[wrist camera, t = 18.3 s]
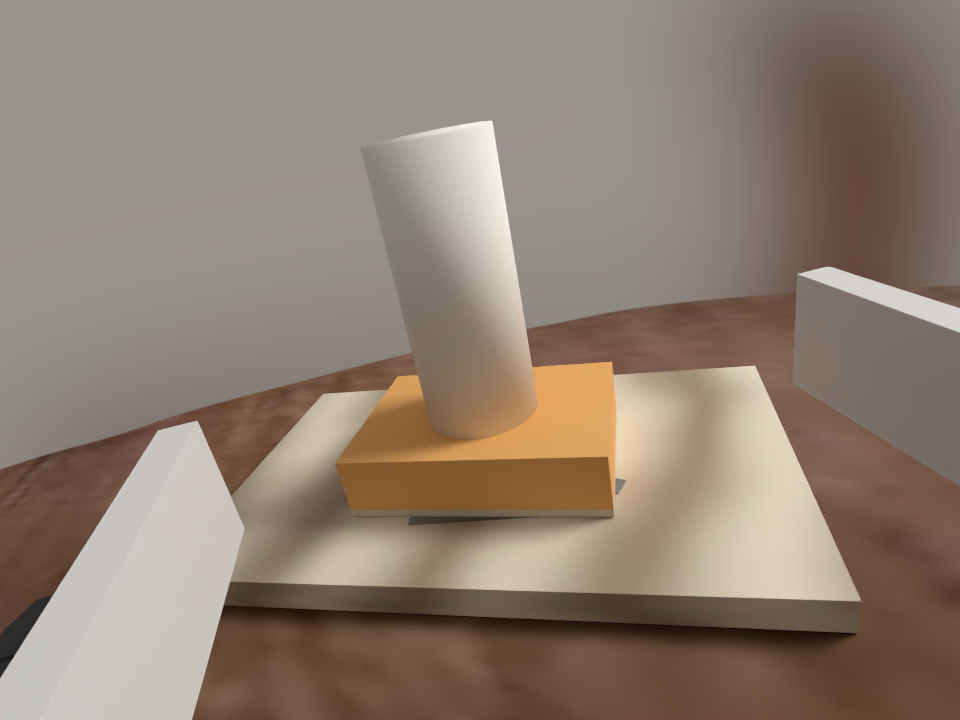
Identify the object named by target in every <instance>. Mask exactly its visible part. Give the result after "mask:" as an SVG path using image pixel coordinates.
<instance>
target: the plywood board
mask: <svg viewBox="0 0 960 720" xmlns="http://www.w3.org/2000/svg"><path fill="white" fill-rule="evenodd" d="M613 378H614V388H615V398H616V408H617V428H616V475H615V517H460V516H352V513H351V510H350V507H349V504H348V501H347V498H346V495H345V492H344V489H343V486H342V483H341V481H340V478H339V475H338V472H337V469H336V466H335V462H336V461H337V460H338V458H339V457H340V455H341V454H342V453H343V451H344V450H345V449H346V447H347V446H348V444H349V443H350V442H351V440H352V439H353V438H354V436H355V435H356V433H357V432H358V431H359V429H360V428H361V427H362V425H363V424H364V422H365V421H366V420H367V418H368V417H369V416H370V414H371V413H372V411H373V410H374V409H375V407H376V406H377V405H378V403H379V402H380V400H381V399H382V398H383V396H384V395H385V394H386V392H387V391H388V390H378V391H363V392H347V393H332V394H323V395H322V396H321V397H320V398H319V399H318V400H317V402H316V403H315V404H314V405H313V406H312V407H311V408H310V409H309V410H308V412H307V413H306V414H305V415H304V416H303V417H302V418H301V419H300V420H299V422H298V423H297V424H296V425H295V426H294V427H293V428H292V429H291V430H290V432H289V433H288V434H287V435H286V436H285V437H284V438H283V439H282V440H281V442H280V443H279V444H278V445H277V446H276V447H275V448H274V449H273V450H272V452H271V453H270V454H269V455H268V456H267V457H266V458H265V459H264V460H263V461H262V463H261V464H260V465H259V466H258V467H257V468H256V469H255V470H254V471H253V473H252V474H251V475H250V476H249V477H248V478H247V479H246V480H245V481H244V483H243V484H242V485H241V486H240V487H239V488H238V489H237V490H236V491H235V493H234V494H233V495H232V496H231V498H232V501H233V503H234V505H235V507H236V510H237V512H238V514H239V517H240V519H241V521H242V523H243V526H244V528H245V529H244V533H243V536H242V540H241V544H240V547H239V551H238V554H237V558H236V562H235V565H234V569H233V573H232V576H231V580H230V583H229V587H228V591H227V594H226V598H225V601H224V605H227V606H250V607H273V608H295V609H318V610H341V611H364V612H386V613H409V614H432V615H455V616H477V617H500V618H523V619H546V620H568V621H591V622H614V623H636V624H659V625H682V626H705V627H727V628H750V629H773V630H796V631H818V632H841V633H858V627H859V618H860V609H861V599H860V597H859V595H858V593H857V590H856V588H855V586H854V584H853V582H852V579H851V577H850V575H849V573H848V571H847V568H846V566H845V564H844V562H843V560H842V557H841V555H840V553H839V551H838V548H837V546H836V544H835V542H834V540H833V537H832V535H831V533H830V531H829V529H828V526H827V524H826V522H825V520H824V518H823V515H822V513H821V511H820V509H819V506H818V504H817V502H816V500H815V498H814V495H813V493H812V491H811V489H810V487H809V484H808V482H807V480H806V478H805V476H804V473H803V471H802V469H801V467H800V464H799V462H798V460H797V458H796V456H795V453H794V451H793V449H792V447H791V445H790V442H789V440H788V438H787V436H786V434H785V431H784V429H783V427H782V425H781V422H780V420H779V418H778V416H777V414H776V411H775V409H774V407H773V405H772V403H771V400H770V398H769V396H768V394H767V392H766V389H765V387H764V385H763V383H762V380H761V378H760V376H759V374H758V372H757V369H756V367H755V366H745V367H730V368H715V369H699V370H684V371H669V372H653V373H638V374H623V375H613Z"/></svg>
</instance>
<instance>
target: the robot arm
mask: <svg viewBox="0 0 960 720" xmlns="http://www.w3.org/2000/svg"><path fill="white" fill-rule="evenodd" d="M792 383H793V384H794V385H796V386H798V387H799V388H801V389H803V390H804V391H806V392H807V393H809V394H811V395H812V396H814V397H815V398H817V399H819V400H820V401H822V402H824V403H825V404H827V405H828V406H830V407H832V408H833V409H835V410H837V411H838V412H840V413H841V414H843V415H845V416H846V417H848V418H850V419H851V420H853V421H854V422H856V423H858V424H859V425H861V426H863V427H864V428H866V429H867V430H869V431H871V432H872V433H874V434H876V435H877V436H879V437H880V438H882V439H884V440H885V441H887V442H889V443H890V444H892V445H893V446H895V447H897V448H898V449H900V450H902V451H903V452H905V453H906V454H908V455H910V456H911V457H913V458H914V459H916V460H918V461H919V462H921V463H923V464H924V465H926V466H927V467H929V468H931V469H932V470H934V471H936V472H937V473H939V474H940V475H942V476H944V477H945V478H947V479H949V480H950V481H952V482H953V483H955V484H957V485H958V486H960V308H957V307H954V306H951V305H947V304H944V303H941V302H938V301H935V300H932V299H929V298H926V297H922V296H919V295H916V294H913V293H910V292H907V291H904V290H901V289H898V288H894V287H891V286H888V285H885V284H882V283H879V282H876V281H872V280H869V279H866V278H863V277H860V276H857V275H853V274H851V273H848V272H844V271H841V270H838V269H835V268H832V267H829V266H828V267H824V268H820V269H816V270H812V271H808V272H804V273H800V274H797V294H796V315H795V337H794V359H793V381H792ZM244 529H245V528H244V526H243V523H242V521H241V519H240V517H239V514H238V512H237V510H236V507H235V505H234V503H233V501H232V498H231V496H230V494H229V492H228V489H227V487H226V485H225V482H224V480H223V478H222V476H221V473H220V471H219V469H218V466H217V464H216V462H215V460H214V457H213V455H212V453H211V451H210V448H209V446H208V444H207V441H206V439H205V437H204V435H203V432H202V430H201V428H200V426H199V423H198V421H195V422H191V423H187V424H183V425H179V426H174V427H170V428H166V429H162V430H158V432H157V433H156V435H155V436H154V438H153V439H152V441H151V443H150V444H149V446H148V447H147V449H146V450H145V452H144V454H143V455H142V457H141V458H140V460H139V461H138V463H137V465H136V466H135V468H134V469H133V471H132V472H131V474H130V476H129V477H128V479H127V480H126V482H125V483H124V485H123V487H122V488H121V490H120V491H119V493H118V494H117V496H116V498H115V499H114V501H113V502H112V504H111V505H110V507H109V508H108V510H107V512H106V513H105V515H104V516H103V518H102V519H101V521H100V523H99V524H98V526H97V527H96V529H95V530H94V532H93V534H92V535H91V537H90V538H89V540H88V541H87V543H86V545H85V546H84V548H83V549H82V551H81V552H80V554H79V556H78V557H77V559H76V560H75V562H74V563H73V565H72V567H71V568H70V570H69V571H68V573H67V574H66V576H65V578H64V579H63V581H62V582H61V584H60V585H59V587H58V589H57V590H56V592H55V593H54V595H51V596H48V597H44V598H40V599H37V600H36V601H35V602H34V603H33V604H32V605H31V606H30V607H28V608H27V609H26V610H25V611H24V612H23V613H22V614H21V615H20V616H19V617H18V618H17V619H16V620H15V621H14V622H13V623H11V624H10V625H9V626H8V627H7V628H6V629H5V630H4V631H3V633H2V634H1V635H0V720H192V717H193V714H194V710H195V706H196V703H197V699H198V696H199V692H200V688H201V685H202V681H203V677H204V674H205V670H206V667H207V663H208V659H209V656H210V652H211V649H212V645H213V641H214V638H215V634H216V630H217V627H218V623H219V620H220V616H221V612H222V609H223V605H224V601H225V598H226V594H227V591H228V587H229V583H230V580H231V576H232V573H233V569H234V565H235V562H236V558H237V554H238V551H239V547H240V544H241V540H242V536H243V533H244Z"/></svg>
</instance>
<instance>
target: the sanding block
mask: <svg viewBox="0 0 960 720" xmlns="http://www.w3.org/2000/svg"><path fill="white" fill-rule="evenodd" d="M361 152H362V155H363V160H364V163H365V168H366V172H367V176H368V179H369V183H370V187H371V191H372V195H373V199H374V203H375V207H376V211H377V215H378V219H379V223H380V227H381V231H382V235H383V239H384V242H385V247H386V251H387V255H388V259H389V263H390V266H391V270H392V274H393V278H394V282H395V286H396V290H397V294H398V298H399V302H400V306H401V310H402V314H403V318H404V322H405V326H406V330H407V334H408V338H409V342H410V346H411V350H412V354H413V358H414V362H415V366H416V370H417V374H418V375H412V376H398V377H397V378H396V380H395V381H394V383H393V384H392V385H391V387H390V388H389V389H388V391H387V392H386V394H385V395H384V396H383V398H382V399H381V400H380V402H379V403H378V405H377V406H376V407H375V409H374V410H373V411H372V413H371V414H370V416H369V417H368V418H367V420H366V421H365V422H364V424H363V425H362V427H361V428H360V429H359V431H358V432H357V433H356V435H355V436H354V438H353V439H352V440H351V442H350V443H349V444H348V446H347V447H346V449H345V450H344V451H343V453H342V454H341V455H340V457H339V458H338V460H337V461H336V462H335V466H336V469H337V472H338V475H339V478H340V481H341V483H342V486H343V489H344V492H345V495H346V498H347V501H348V504H349V507H350V510H351V513H352V516H460V517H615V475H616V428H617V408H616V398H615V388H614V378H613V368H612V362H603V363H589V364H574V365H559V366H545V367H532V364H531V358H530V352H529V345H528V339H527V333H526V327H525V321H524V315H523V308H522V302H521V296H520V290H519V284H518V278H517V272H516V266H515V259H514V253H513V247H512V241H511V234H510V229H509V222H508V216H507V210H506V204H505V197H504V192H503V185H502V179H501V173H500V167H499V161H498V154H497V149H496V143H495V136H494V130H493V123H492V121H483V122H475V123H469V124H463V125H457V126H452V127H446V128H441V129H436V130H431V131H426V132H421V133H416V134H411V135H407V136H402V137H398V138H394V139H389V140H385V141H381V142H377V143H373V144H369V145H366V146H363V147H361Z"/></svg>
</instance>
